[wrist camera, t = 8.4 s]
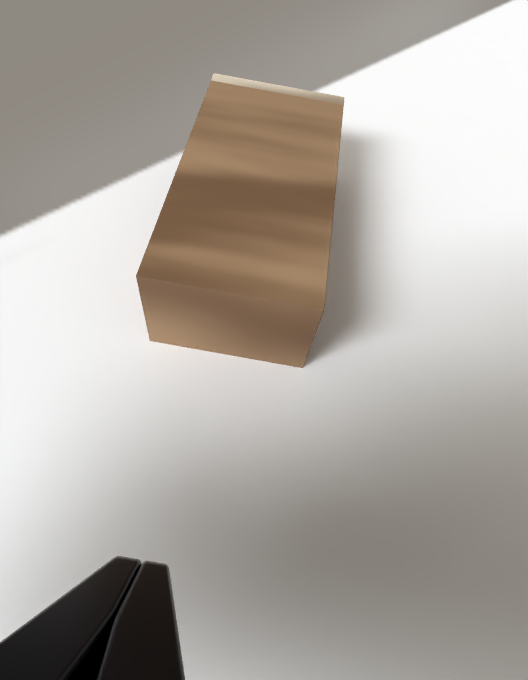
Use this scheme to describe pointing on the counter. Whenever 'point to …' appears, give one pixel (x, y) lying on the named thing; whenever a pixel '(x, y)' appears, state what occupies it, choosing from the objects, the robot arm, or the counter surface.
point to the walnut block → (247, 225)
